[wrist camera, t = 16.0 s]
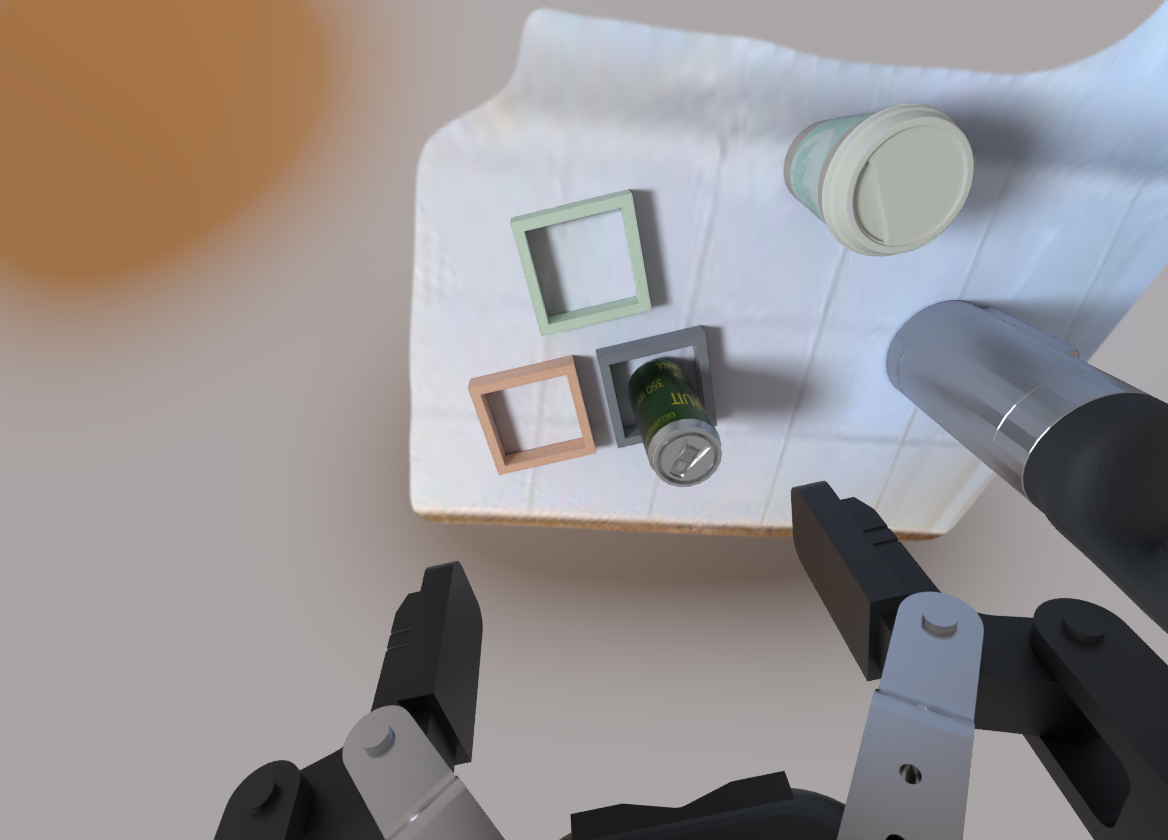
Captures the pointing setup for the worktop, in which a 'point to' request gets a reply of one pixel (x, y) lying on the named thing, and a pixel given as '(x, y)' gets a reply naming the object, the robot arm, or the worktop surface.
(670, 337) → the charcoal frame
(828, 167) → the coffee cup
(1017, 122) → the worktop surface
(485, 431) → the terracotta frame
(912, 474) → the worktop surface
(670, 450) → the beer can
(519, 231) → the sage frame
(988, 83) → the worktop surface
